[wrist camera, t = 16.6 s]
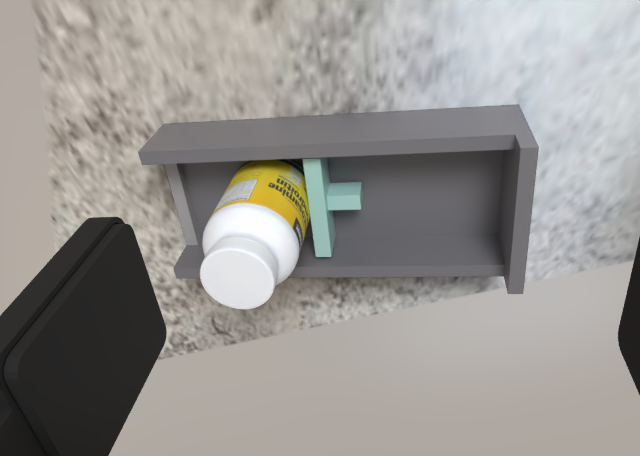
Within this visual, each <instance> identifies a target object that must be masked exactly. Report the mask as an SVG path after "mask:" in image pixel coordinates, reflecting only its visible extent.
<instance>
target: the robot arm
mask: <svg viewBox="0 0 640 456" xmlns="http://www.w3.org/2000/svg"><path fill="white" fill-rule="evenodd" d="M165 340H166V326H165V323H164V320H163V317H162V314H161V311H160V308H159V305H158V302H157V299H156V296H155V293H154V290H153V287H152V284H151V281H150V278H149V275H148V272H147V269H146V266H145V263H144V260H143V257H142V254H141V252H140V249H139V246H138V243H137V240H136V237H135V234H134V231H133V229H132V227H131V226H130V225H128V224H125V223H124V222H123V220H122V219H121V218H119V217H99V218H89V219H87V220H86V221H85V222H84V223H83V224H82V225H81V226H80V227H79V229H78V230H77V231H76V232H75V233H74V234H73V235H72V236H71V238H70V239H69V240H68V241H67V242H66V243H65V244H64V245H63V246H62V248H61V249H60V250H59V251H58V252H57V253H56V254H55V255H54V256H53V258H52V259H51V260H50V261H49V262H48V263H47V264H46V266H45V267H44V268H43V269H42V270H41V271H40V272H39V273H38V274H37V276H36V277H35V278H34V279H33V280H32V281H31V282H30V283H29V284H28V286H27V287H26V288H25V289H24V290H23V291H22V292H21V294H20V295H19V296H18V297H17V298H16V299H15V300H14V301H13V302H12V303H11V305H10V306H9V307H8V308H7V309H6V310H5V311H4V312H3V313H2V315H1V316H0V456H108V455H109V453H110V451H111V449H112V447H113V445H114V443H115V441H116V439H117V437H118V435H119V433H120V431H121V429H122V427H123V425H124V423H125V421H126V419H127V417H128V415H129V413H130V411H131V409H132V407H133V405H134V403H135V402H136V400H137V397H138V395H139V394H140V392H141V389H142V388H143V386H144V383H145V382H146V380H147V378H148V376H149V374H150V372H151V370H152V368H153V366H154V364H155V362H156V360H157V358H158V356H159V354H160V352H161V350H162V348H163V346H164V344H165ZM618 341H619V347H620V350H621V353H622V355H623V357H624V360H625V362H626V364H627V367H628V369H629V371H630V374H631V376H632V378H633V381H634V383H635V385H636V388H637V389H638V392H639V394H640V238H639V242H638V247H637V251H636V255H635V260H634V264H633V268H632V273H631V277H630V282H629V286H628V290H627V295H626V299H625V304H624V308H623V312H622V317H621V321H620V325H619V331H618Z"/></svg>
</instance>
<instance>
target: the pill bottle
mask: <svg viewBox="0 0 640 456" xmlns="http://www.w3.org/2000/svg"><path fill="white" fill-rule="evenodd" d="M309 219H310V210H309V203H308V196H307V188H306V181H305V174H304V170H303V169H302V168H301V167H300V166H299V165H298V164H296V163H295V162H293V161H292V160H290V159H273V160H249V161H247V162H245V163H244V164H243V165H242V166H241V167H240V168H239V169H238V171H237V172H236V174H235V175H234V177H233V179H232V181H231V182H230V184H229V186H228V188H227V189H226V191H225V193H224V195H223V196H222V198H221V200H220V202H219V203H218V205H217V207H216V209H215V210H214V212H213V214H212V215H211V217H210V219H209V221H208V223H207V225H206V227H205V230H204V233H203V241H202V243H203V251H204V255H205V258H204V260H203V262H202V265H201V268H200V279H201V282H202V285H203V287H204V289H205V290H206V292H207V293H208V294H209V295H210V296H211V297H212V298H213V299H215V300H216V301H218V302H219V303H221V304H223V305H225V306H228V307H231V308H236V309H252V308H256V307H258V306H261V305H262V304H264V303H265V302H266V301H267V300H268V299H269V298H270V297H271V296H272V294H273V291H274V289H275V286H276V285H278V284H280V283H281V282H283V281H284V280H285V279H286V278H287V277H288V276H289V275H290V274H291V273H292V272H293V270H294V268H295V266H296V264H297V261H298V259H299V254H300V251H301V248H302V244H303V240H304V237H305V233H306V230H307V226H308V222H309Z"/></svg>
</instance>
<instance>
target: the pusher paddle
mask: <svg viewBox="0 0 640 456" xmlns="http://www.w3.org/2000/svg"><path fill="white" fill-rule="evenodd" d="M303 166H304V174H305V181H306V188H307V196H308V203H309V210H310V218H311V225H312V232H313V240H314V247H315V254H316V257H332V252H333V247H334V241H335V236H336V233H335V224H334V215H333V210H360V209H361V206H362V198H363V192H362V182H346V183H330V179H329V170H328V161H327V157H320V158H303Z"/></svg>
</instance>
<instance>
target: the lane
mask: <svg viewBox="0 0 640 456" xmlns="http://www.w3.org/2000/svg"><path fill="white" fill-rule="evenodd" d="M538 148H539V147H538V145H537V143H536V141H535V138H534V136H533V134H532V132H531V130H530V128H529V125H528V123H527V121H526V119H525V117H524V114H523V112H522V110H521V108H520V106H519V105H502V106H484V107H465V108H447V109H429V110H411V111H392V112H374V113H356V114H337V115H319V116H301V117H283V118H264V119H246V120H228V121H209V122H191V123H173V124H164V125H163V126H162V127H161V128H160V129H159V130H158V131H157V132H156V133H155V134H154V135H153V136H152V138H151V139H150V140H149V141H148V142H147V143H146V144H145V145H144V146H143V147H142V148H141V149H140V151H139V152H138V153H139V156H140V160H141V163H142V165H154V164H164V166H165V170H166V173H167V177H168V180H169V184H170V188H171V191H172V195H173V198H174V202H175V205H176V209H177V212H178V216H179V220H180V223H181V227H182V230H183V234H184V237H185V241H186V245H187V246H186V247H185V249H184V251H183V252H182V254H181V256H180V258H179V259H178V261H177V263H176V265H175V266H174V272H175V275H176V278H200V268H201V265H202V262H203V260H204V258H205V255H204V251H203V243H202V241H203V233H204V230H205V227H206V225H207V223H208V221H209V219H210V217H211V215H212V214H213V212H214V210H215V209H216V207H217V205H218V203H219V202H220V200H221V198H222V196H223V195H224V193H225V191H226V189H227V188H228V186H229V184H230V182H231V181H232V179H233V177H234V175H235V174H236V172H237V171H238V169H239V168H240V167H241V166H242V165H243V164H244V163H245V162H247V161H249V160H273V159H290V160H292V161H293V162H295V163H296V164H298V165H299V166H300V167H301V168H302V169H303V170H304V166H303V158H320V157H327V161H328V170H329V179H330V183H346V182H362V192H363V198H362V206H361V209H360V210H333V215H334V224H335V233H336V236H335V241H334V247H333V252H332V257H316V254H315V247H314V240H313V232H312V225H311V218H310V219H309V222H308V226H307V230H306V233H305V237H304V240H303V244H302V248H301V251H300V254H299V259H298V261H297V264H296V266H295V268H294V270H293V272H292V273H291V274H290V275H289V276H288V277H287V278H308V277H461V276H504V279H505V284H506V288H507V292H508V294H523V289H524V280H525V271H526V261H527V252H528V242H529V233H530V224H531V214H532V205H533V195H534V186H535V177H536V167H537V158H538Z"/></svg>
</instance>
